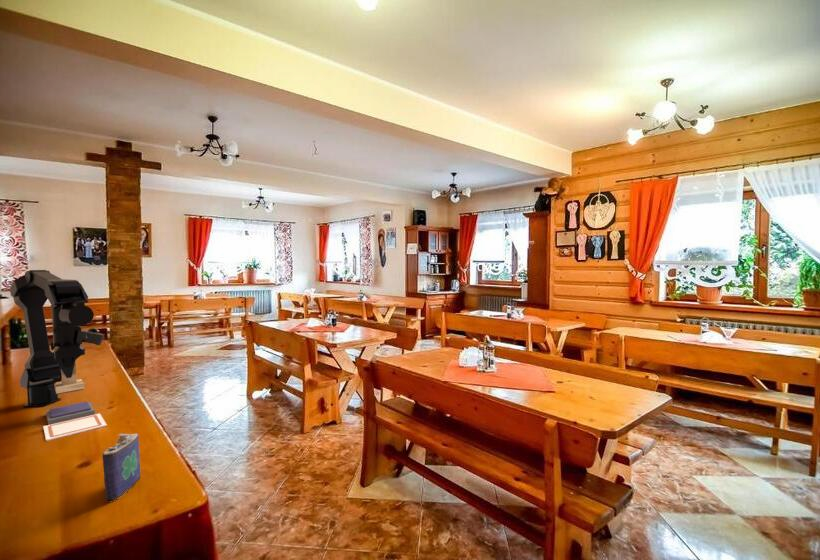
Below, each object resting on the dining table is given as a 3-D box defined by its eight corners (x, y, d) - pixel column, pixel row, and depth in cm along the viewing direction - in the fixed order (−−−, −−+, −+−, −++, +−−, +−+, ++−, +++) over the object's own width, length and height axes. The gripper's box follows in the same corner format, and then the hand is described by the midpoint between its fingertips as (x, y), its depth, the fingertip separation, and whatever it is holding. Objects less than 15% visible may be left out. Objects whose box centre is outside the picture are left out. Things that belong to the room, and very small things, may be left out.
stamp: (54, 390, 113) (53, 363, 112) (81, 385, 117) (80, 359, 117) (56, 395, 109) (55, 366, 108) (84, 389, 113) (82, 362, 113)
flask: (130, 475, 79) (128, 424, 79) (145, 474, 80) (143, 423, 79) (100, 503, 70) (98, 445, 70) (118, 502, 70) (116, 444, 70)
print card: (43, 427, 104) (43, 425, 104) (99, 414, 113) (99, 413, 113) (46, 441, 96) (46, 439, 96) (106, 425, 104) (106, 424, 104)
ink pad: (46, 415, 113) (45, 408, 113) (90, 405, 120) (89, 399, 120) (48, 424, 106) (47, 418, 106) (94, 414, 113) (94, 407, 113)
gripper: (106, 323, 111) (108, 376, 112) (96, 317, 124) (98, 365, 125) (53, 328, 103) (56, 385, 104) (49, 321, 116) (51, 372, 117)
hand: (68, 376), depth 113 cm, fingers closed on stamp, 3 cm apart
